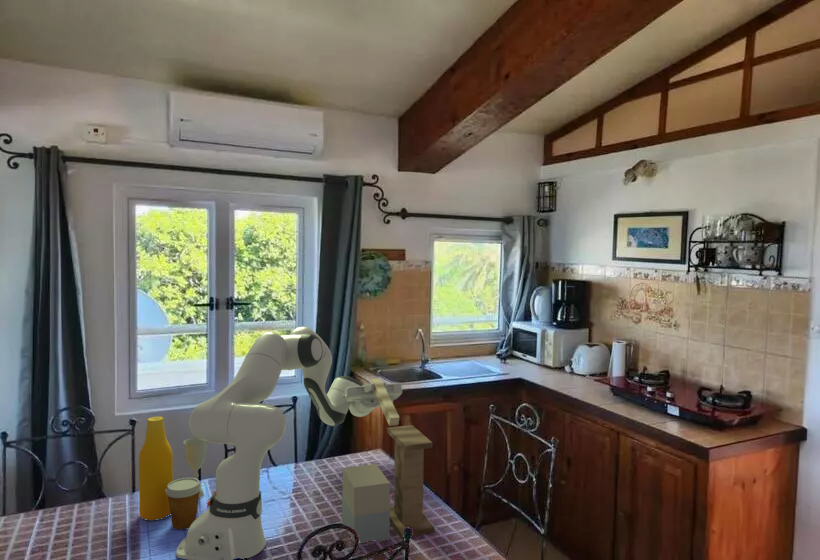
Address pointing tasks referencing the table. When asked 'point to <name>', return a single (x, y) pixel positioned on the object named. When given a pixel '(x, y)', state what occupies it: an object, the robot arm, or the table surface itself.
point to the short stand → (409, 481)
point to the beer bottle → (155, 471)
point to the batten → (385, 402)
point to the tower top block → (366, 490)
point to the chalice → (195, 455)
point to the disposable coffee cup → (183, 501)
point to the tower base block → (366, 524)
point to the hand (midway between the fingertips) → (378, 385)
